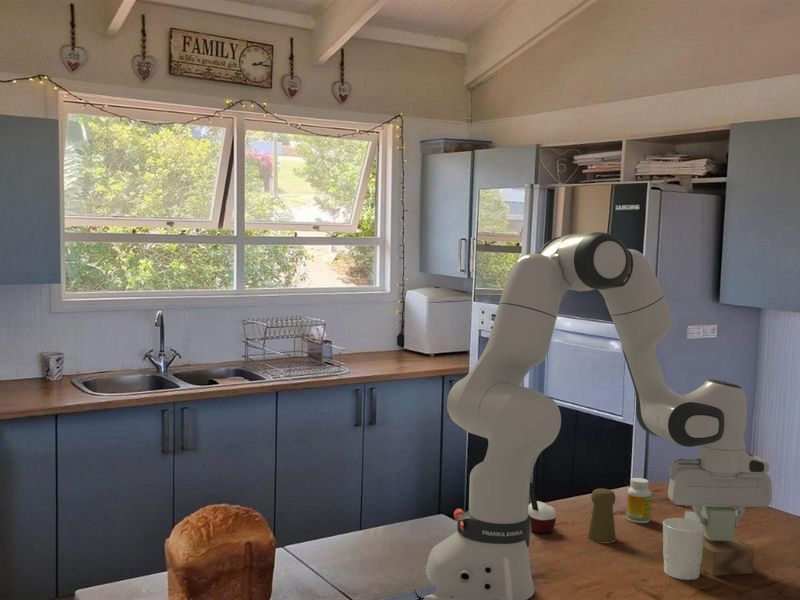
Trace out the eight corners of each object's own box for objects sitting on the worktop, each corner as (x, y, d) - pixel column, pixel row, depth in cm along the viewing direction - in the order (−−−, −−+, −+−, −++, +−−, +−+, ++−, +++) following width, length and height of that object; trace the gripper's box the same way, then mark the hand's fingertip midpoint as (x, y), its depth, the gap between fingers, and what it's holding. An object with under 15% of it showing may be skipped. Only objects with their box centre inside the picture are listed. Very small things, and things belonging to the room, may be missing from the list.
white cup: (662, 563, 167) (664, 515, 166) (703, 569, 164) (705, 521, 164) (659, 577, 160) (661, 527, 159) (702, 584, 157) (704, 533, 156)
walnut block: (712, 576, 161) (713, 552, 161) (686, 559, 170) (688, 536, 170) (752, 574, 163) (753, 549, 163) (725, 557, 172) (726, 534, 172)
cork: (616, 544, 177) (618, 494, 177) (588, 541, 179) (590, 492, 178) (614, 535, 183) (616, 487, 183) (587, 532, 184) (589, 484, 184)
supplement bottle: (646, 525, 190) (648, 484, 190) (623, 520, 193) (625, 480, 192) (652, 519, 195) (654, 479, 194) (630, 514, 198) (631, 475, 197)
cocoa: (549, 526, 189) (552, 475, 189) (564, 534, 183) (567, 481, 183) (514, 529, 186) (516, 476, 186) (528, 537, 180) (531, 483, 180)
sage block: (709, 540, 164) (710, 511, 164) (700, 531, 169) (701, 503, 169) (734, 540, 164) (735, 511, 164) (724, 532, 169) (725, 503, 169)
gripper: (675, 462, 162) (672, 530, 163) (777, 464, 163) (773, 532, 163) (665, 454, 169) (662, 519, 170) (763, 456, 169) (759, 522, 170)
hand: (717, 526), depth 166 cm, fingers closed on sage block, 5 cm apart
